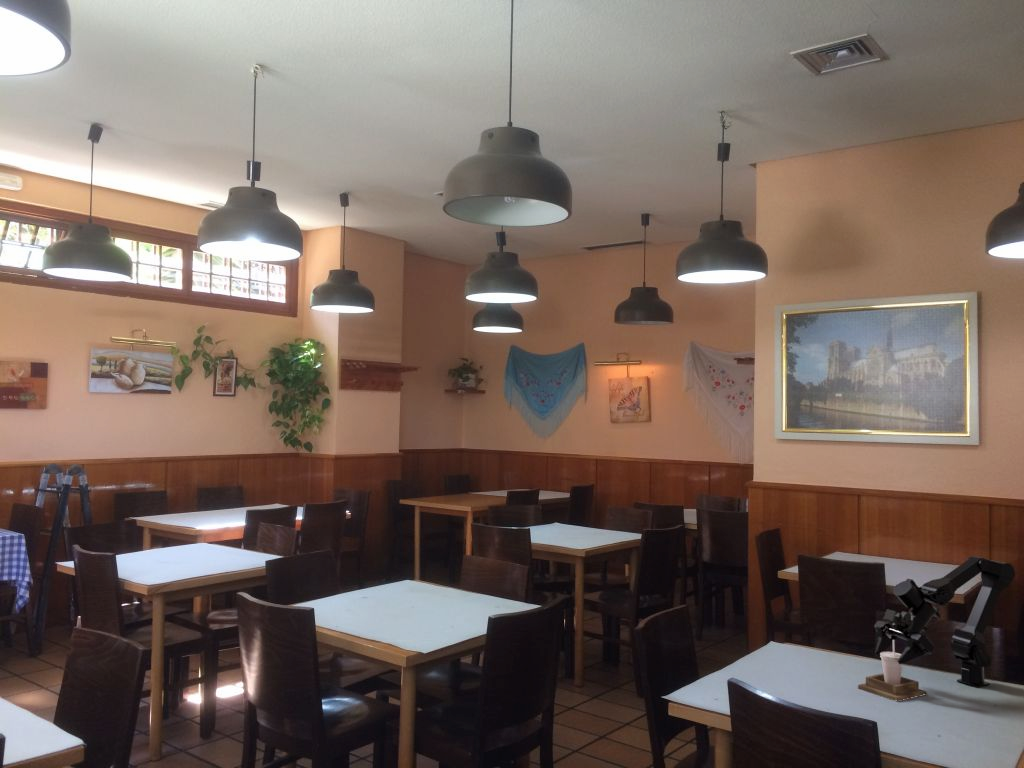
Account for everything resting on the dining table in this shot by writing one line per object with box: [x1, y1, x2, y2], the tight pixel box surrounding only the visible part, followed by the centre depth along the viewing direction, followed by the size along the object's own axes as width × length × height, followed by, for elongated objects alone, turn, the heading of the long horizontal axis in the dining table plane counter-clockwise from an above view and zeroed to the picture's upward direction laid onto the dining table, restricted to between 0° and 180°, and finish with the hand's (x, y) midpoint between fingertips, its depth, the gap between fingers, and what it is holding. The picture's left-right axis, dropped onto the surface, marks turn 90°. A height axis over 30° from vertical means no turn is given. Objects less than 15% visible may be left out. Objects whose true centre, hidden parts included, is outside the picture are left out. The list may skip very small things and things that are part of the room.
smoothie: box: [879, 640, 903, 685], centre depth 231 cm, size 6×6×14 cm
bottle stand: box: [857, 673, 928, 702], centre depth 230 cm, size 13×13×4 cm
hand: (887, 658), depth 230 cm, fingers open, 9 cm apart
